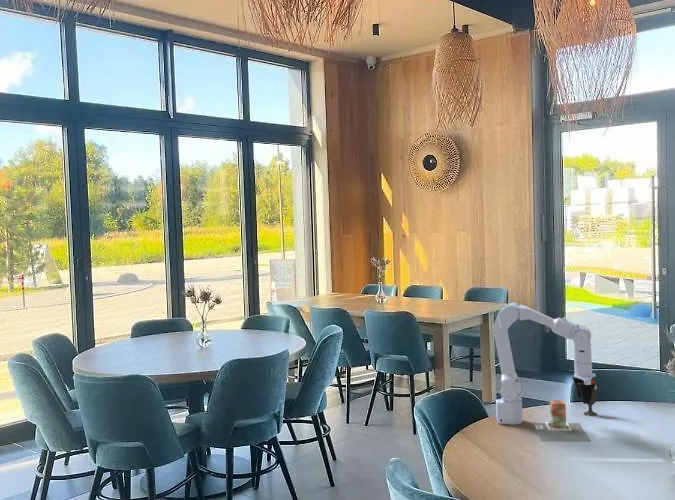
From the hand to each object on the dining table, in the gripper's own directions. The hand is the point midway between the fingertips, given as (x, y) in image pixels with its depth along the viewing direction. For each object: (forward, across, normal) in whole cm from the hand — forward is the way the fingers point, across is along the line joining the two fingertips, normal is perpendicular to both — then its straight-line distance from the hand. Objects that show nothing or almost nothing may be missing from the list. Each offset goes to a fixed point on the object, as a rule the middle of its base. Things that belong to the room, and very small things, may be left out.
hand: (584, 400), depth 229 cm
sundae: (+11, +19, -6) cm, 23 cm away
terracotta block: (+5, 0, +9) cm, 10 cm away
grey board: (+10, -5, +9) cm, 15 cm away
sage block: (+10, 0, +9) cm, 13 cm away
